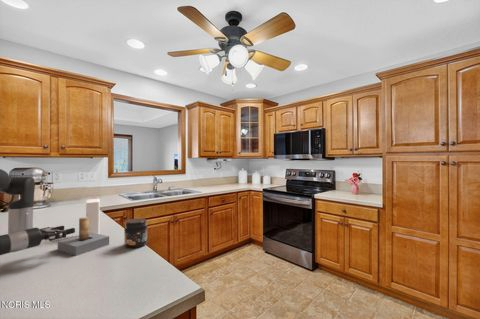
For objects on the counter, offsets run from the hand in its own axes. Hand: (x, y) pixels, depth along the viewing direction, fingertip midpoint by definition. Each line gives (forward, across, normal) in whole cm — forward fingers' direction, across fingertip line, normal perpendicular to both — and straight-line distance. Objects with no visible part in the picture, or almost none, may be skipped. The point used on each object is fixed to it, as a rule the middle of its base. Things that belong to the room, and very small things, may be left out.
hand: (69, 228), depth 102 cm
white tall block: (+20, +15, +11) cm, 27 cm away
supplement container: (+20, -20, +11) cm, 30 cm away
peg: (+7, 0, +10) cm, 12 cm away
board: (+7, 0, +10) cm, 12 cm away
